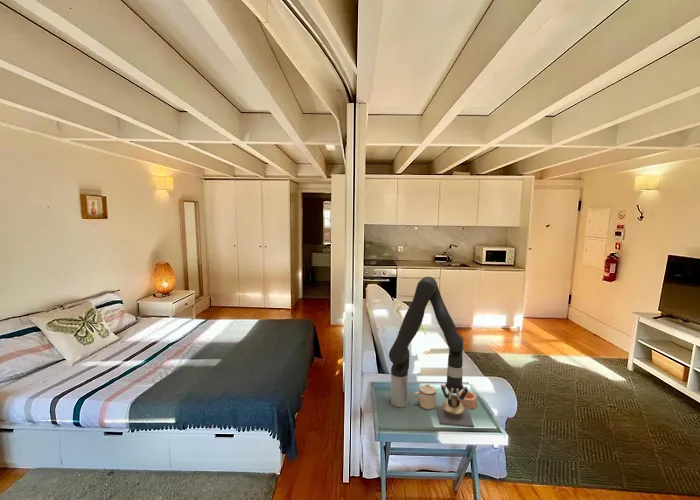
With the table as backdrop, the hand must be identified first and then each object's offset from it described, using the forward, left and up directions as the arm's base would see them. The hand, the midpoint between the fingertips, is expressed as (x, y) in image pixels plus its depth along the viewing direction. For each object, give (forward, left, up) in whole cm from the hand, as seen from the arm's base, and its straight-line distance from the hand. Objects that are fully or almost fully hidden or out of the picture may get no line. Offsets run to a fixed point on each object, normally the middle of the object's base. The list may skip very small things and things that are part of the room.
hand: (453, 405), depth 158 cm
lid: (0, 0, -2) cm, 2 cm away
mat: (0, 0, -6) cm, 6 cm away
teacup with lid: (-14, +9, -6) cm, 17 cm away
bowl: (+9, +13, -6) cm, 17 cm away
